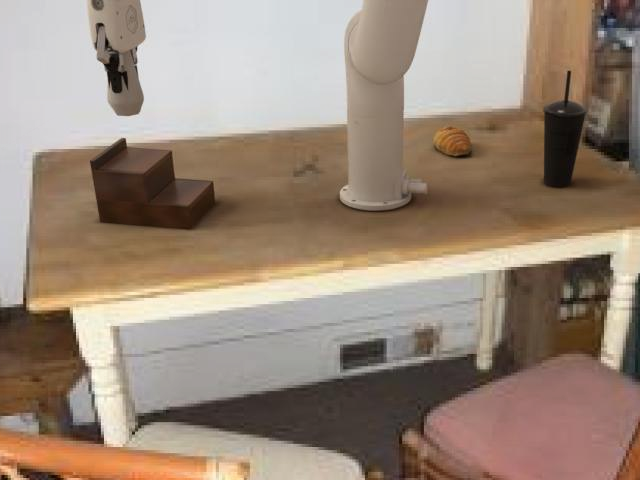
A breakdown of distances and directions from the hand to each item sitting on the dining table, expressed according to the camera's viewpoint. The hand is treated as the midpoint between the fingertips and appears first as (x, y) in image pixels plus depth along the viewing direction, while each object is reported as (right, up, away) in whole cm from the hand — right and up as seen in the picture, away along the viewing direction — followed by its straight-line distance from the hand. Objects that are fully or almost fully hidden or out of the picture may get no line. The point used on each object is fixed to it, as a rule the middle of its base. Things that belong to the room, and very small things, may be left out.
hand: (125, 92), depth 149 cm
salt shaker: (0, -3, +2) cm, 3 cm away
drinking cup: (+73, -10, +21) cm, 77 cm away
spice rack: (+3, -17, +10) cm, 20 cm away
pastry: (+56, 0, +37) cm, 67 cm away
